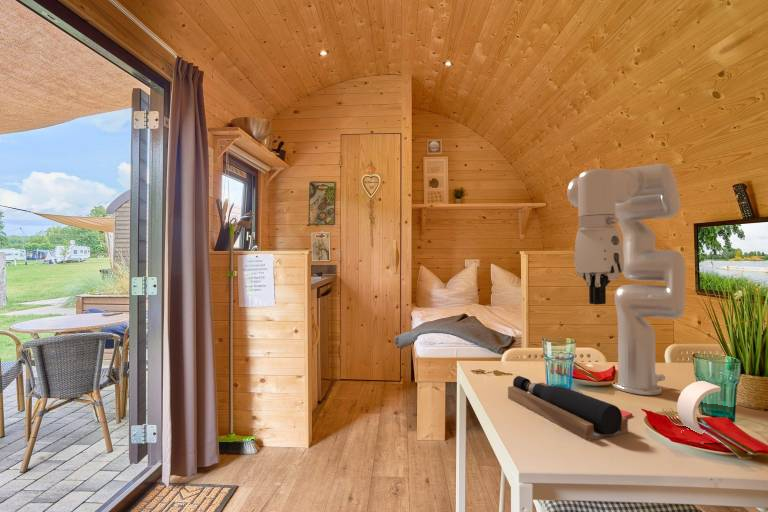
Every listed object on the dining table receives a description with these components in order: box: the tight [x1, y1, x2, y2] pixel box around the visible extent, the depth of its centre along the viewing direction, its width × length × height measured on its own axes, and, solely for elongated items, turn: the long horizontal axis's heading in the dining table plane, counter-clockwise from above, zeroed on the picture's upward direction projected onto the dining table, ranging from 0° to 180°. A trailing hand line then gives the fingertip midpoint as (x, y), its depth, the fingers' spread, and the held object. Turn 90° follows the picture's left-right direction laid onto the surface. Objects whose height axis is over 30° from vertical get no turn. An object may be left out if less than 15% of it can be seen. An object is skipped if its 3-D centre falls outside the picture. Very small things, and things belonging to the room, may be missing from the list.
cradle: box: [507, 382, 629, 441], centre depth 101 cm, size 12×28×3 cm, turn 19°
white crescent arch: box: [676, 380, 722, 444], centre depth 86 cm, size 5×6×12 cm
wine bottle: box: [512, 375, 622, 436], centre depth 101 cm, size 6×6×30 cm
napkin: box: [620, 409, 633, 419], centre depth 100 cm, size 8×8×1 cm
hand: (597, 303), depth 91 cm, fingers closed
